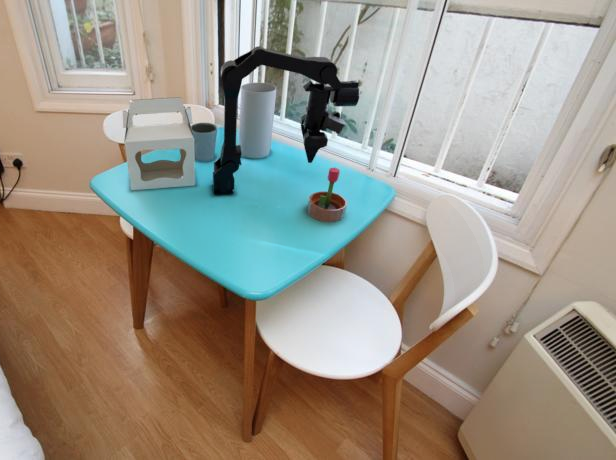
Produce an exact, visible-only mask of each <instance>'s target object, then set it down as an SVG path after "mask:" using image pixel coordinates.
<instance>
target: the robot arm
mask: <svg viewBox="0 0 616 460" xmlns="http://www.w3.org/2000/svg"><path fill="white" fill-rule="evenodd" d="M260 66H264V67H269V68H273V69H276V70H277V69H278V70H283V71H286V72H291V73H294V74H295V73H296V74H299V75H302V76H305V77H306V78H308V79H310V80H308V82H307V83H305V84H304V85H302V88H303V90H304V91H305V92H307V93H308V92H309V93H308V98H307V99H308V100H307V106H305V112H306V113H305V114H303V115H302V116H301V117H300V131H301V135H302V139H303V146H304V147H303V148H304V152H305V156H306V160H307V163H308V164H312V163H313V161H314V159H315V157H316V155H317V153H318V152H319V150H320V149H322V148H323V149H324V148H325V147H328V143H329V138H328V135H327V134H326V131H327V130H329V131H332V132H334V133H335V134H337V135H341V133H342V131H343V130H344V128H345V127H346V125H347V124H346V122H345V120H344V119H343V118H342V117H341V112H339V111H337V110H334V111H333V112H332V113H329V110H328V108H329V104H330V103H331V104H332V105H333V107H356V106H357V105H358V103H359V101H360V89H359V85H360V82H359V81H358V80H349V81H348V80H347V81H345V80H343V81H341V80H340V79H339V77H338V67H337V65H336V64H335V63H334V62H333V61H332V60H330V59H329V58H328V57H326V56H308V57H307V56H304V57H303V56H300V55H299V56H298V55H294V54H290V53H287V52H286V53H285V52H281V51H277V50H273V49H268V48H265V47H263V46H255V47H253V48H252V49H251V50H250V51H247V52H246V53H244V54H242V55H239V56H238V57H236V58H235V59H233V60H231V59H230V60H227V61H225V62H224V63H223V64H222V65H221V67H220V78H221V84H222V92H223V96H224V101H223V102H224V103H223V106H224V107H223V122H224V123H223V144H222V145H221V150H220V155H219V157H218V158H217V159H216V160H215V161H214V162H213V171H212V184H211V188H212V193H213V196H229V195H234V190H235V176H234V174H235V173H236V172H237V171H238V170H239V169H240V166H242V155H241V154H242V152H241V146H240V145H237V125H238V124H237V123H238V122H237V121H238V99H239V95H240V93H241V86H242V81H243V79H245V78H247V77H248V76H249V75H251V74H252V73H253V71H255V70H256V69H257V68H258V67H260ZM313 81H314V82H316V83H313Z"/></svg>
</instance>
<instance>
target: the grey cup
mask: <svg viewBox="0 0 616 460" xmlns="http://www.w3.org/2000/svg"><path fill="white" fill-rule="evenodd" d="M191 128H192V132H193V135H194V155H195V162H201V163H206V162H211V161H213V160H214V159H215V156H216V155H215V153H216V143H217V142H216V141H217V135H218V127H217V125H216V124H214V123H212V122H211V123H210V122H197V123H193V124H191Z"/></svg>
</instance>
